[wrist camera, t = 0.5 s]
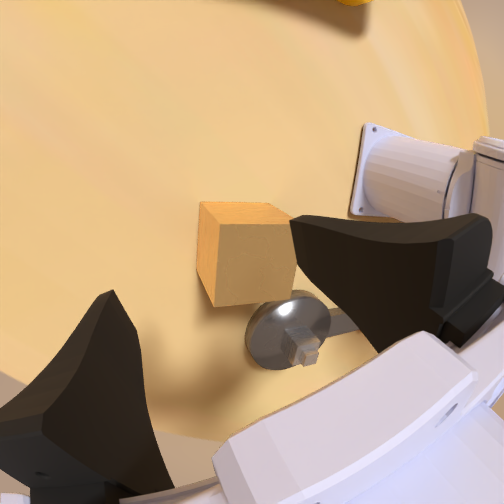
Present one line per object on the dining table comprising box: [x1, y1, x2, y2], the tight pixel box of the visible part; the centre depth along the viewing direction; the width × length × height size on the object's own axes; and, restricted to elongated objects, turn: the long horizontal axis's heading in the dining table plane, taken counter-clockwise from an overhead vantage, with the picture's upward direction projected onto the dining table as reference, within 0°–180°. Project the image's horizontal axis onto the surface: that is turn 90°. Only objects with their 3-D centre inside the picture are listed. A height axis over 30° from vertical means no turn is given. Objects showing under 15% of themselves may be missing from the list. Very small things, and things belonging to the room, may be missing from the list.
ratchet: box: [245, 290, 359, 370], centre depth 27 cm, size 22×8×5 cm, turn 84°
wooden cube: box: [196, 202, 297, 307], centre depth 19 cm, size 5×5×5 cm
